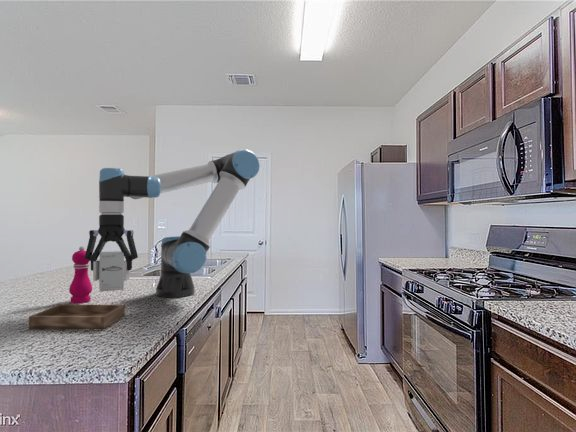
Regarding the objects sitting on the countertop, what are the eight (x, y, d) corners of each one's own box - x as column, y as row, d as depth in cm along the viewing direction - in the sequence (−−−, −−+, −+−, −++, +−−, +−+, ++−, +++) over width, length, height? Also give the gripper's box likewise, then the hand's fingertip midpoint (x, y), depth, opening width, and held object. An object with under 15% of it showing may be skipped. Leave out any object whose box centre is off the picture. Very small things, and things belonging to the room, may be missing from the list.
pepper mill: (64, 302, 129) (65, 246, 129) (82, 298, 135) (83, 245, 136) (78, 304, 126) (79, 247, 126) (96, 300, 133) (97, 246, 133)
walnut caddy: (124, 316, 113) (124, 304, 113) (104, 329, 99) (104, 317, 99) (58, 315, 112) (58, 304, 112) (28, 329, 98) (28, 316, 98)
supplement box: (99, 292, 118) (99, 253, 118) (99, 288, 124) (99, 251, 124) (124, 290, 121) (124, 252, 121) (122, 286, 128) (122, 250, 128)
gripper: (148, 214, 127) (148, 278, 127) (84, 213, 126) (83, 278, 126) (140, 214, 119) (140, 281, 120) (72, 213, 118) (72, 282, 118)
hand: (111, 280), depth 123 cm, fingers closed on supplement box, 9 cm apart
